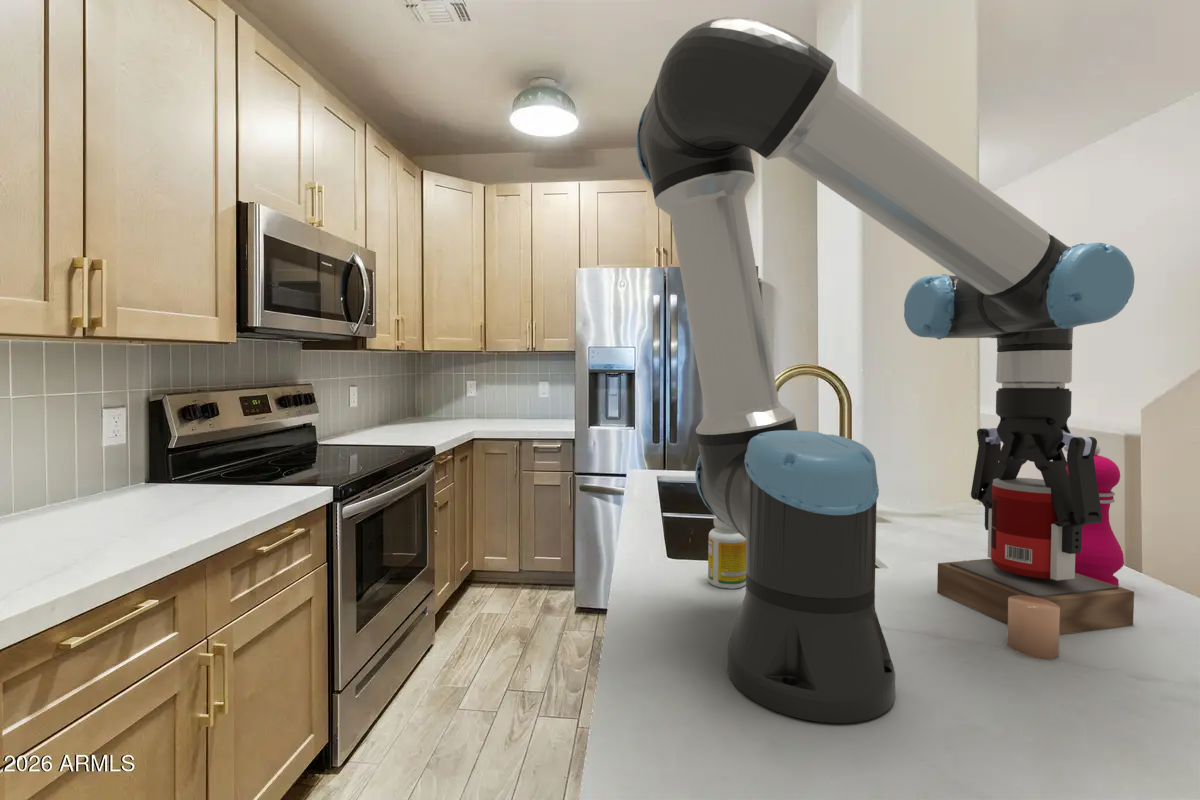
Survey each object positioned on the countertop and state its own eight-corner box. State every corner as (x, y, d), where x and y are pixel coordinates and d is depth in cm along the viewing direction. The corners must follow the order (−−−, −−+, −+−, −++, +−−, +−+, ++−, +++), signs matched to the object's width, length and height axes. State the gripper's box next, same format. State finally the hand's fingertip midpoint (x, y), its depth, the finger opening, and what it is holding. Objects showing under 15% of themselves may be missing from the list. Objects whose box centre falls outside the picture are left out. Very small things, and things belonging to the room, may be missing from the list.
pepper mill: (1126, 600, 75) (1130, 447, 74) (1055, 588, 79) (1059, 444, 78) (1119, 584, 80) (1123, 442, 80) (1054, 574, 85) (1057, 439, 84)
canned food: (1084, 581, 68) (1086, 489, 67) (1008, 577, 69) (1010, 486, 69) (1047, 561, 75) (1049, 478, 75) (980, 557, 77) (981, 476, 76)
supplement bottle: (700, 582, 82) (700, 515, 82) (724, 573, 85) (724, 510, 85) (730, 592, 78) (731, 522, 78) (754, 583, 81) (755, 516, 81)
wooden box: (1037, 637, 64) (1037, 599, 64) (937, 592, 78) (937, 561, 78) (1133, 625, 67) (1134, 589, 67) (1021, 583, 81) (1021, 554, 81)
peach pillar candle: (1035, 660, 59) (1036, 612, 59) (997, 642, 63) (998, 597, 63) (1069, 656, 60) (1070, 609, 60) (1029, 637, 64) (1030, 593, 64)
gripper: (1151, 386, 62) (1145, 594, 63) (985, 385, 82) (982, 542, 83) (1097, 387, 61) (1091, 600, 61) (941, 385, 81) (938, 546, 81)
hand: (1028, 566), depth 72 cm, fingers closed on canned food, 8 cm apart
